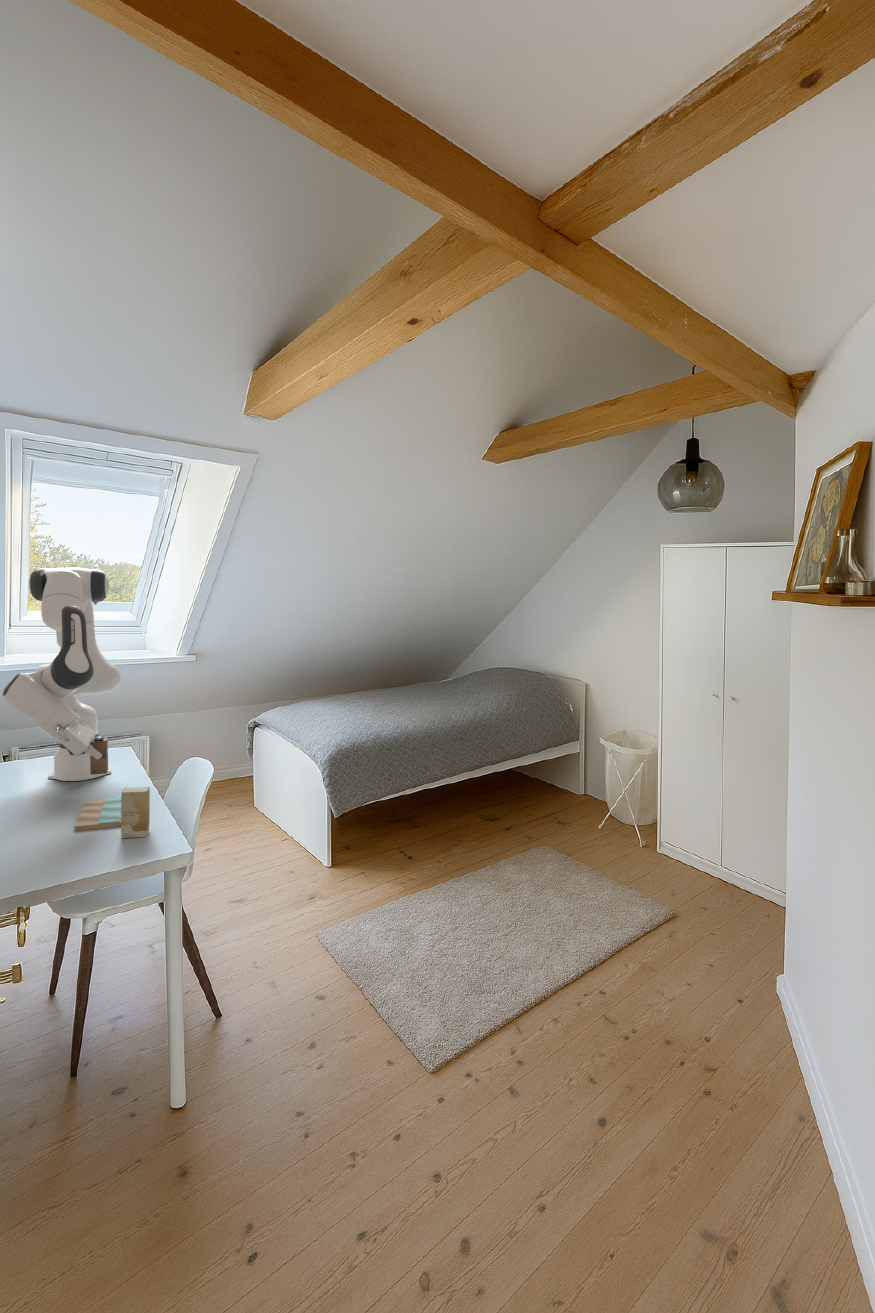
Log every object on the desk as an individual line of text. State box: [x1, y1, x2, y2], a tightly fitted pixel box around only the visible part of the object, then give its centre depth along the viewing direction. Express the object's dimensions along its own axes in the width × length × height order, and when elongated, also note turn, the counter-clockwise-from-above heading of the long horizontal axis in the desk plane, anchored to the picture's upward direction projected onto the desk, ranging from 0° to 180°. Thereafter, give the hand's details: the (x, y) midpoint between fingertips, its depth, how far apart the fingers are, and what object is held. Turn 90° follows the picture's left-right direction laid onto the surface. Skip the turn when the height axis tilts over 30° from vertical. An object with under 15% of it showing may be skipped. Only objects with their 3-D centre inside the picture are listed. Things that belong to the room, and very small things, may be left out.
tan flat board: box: [73, 796, 121, 832], centre depth 178 cm, size 22×15×2 cm
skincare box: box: [120, 786, 151, 839], centre depth 164 cm, size 6×4×12 cm
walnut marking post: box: [90, 735, 109, 775], centre depth 176 cm, size 4×4×10 cm
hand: (101, 754), depth 176 cm, fingers closed on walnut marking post, 4 cm apart
